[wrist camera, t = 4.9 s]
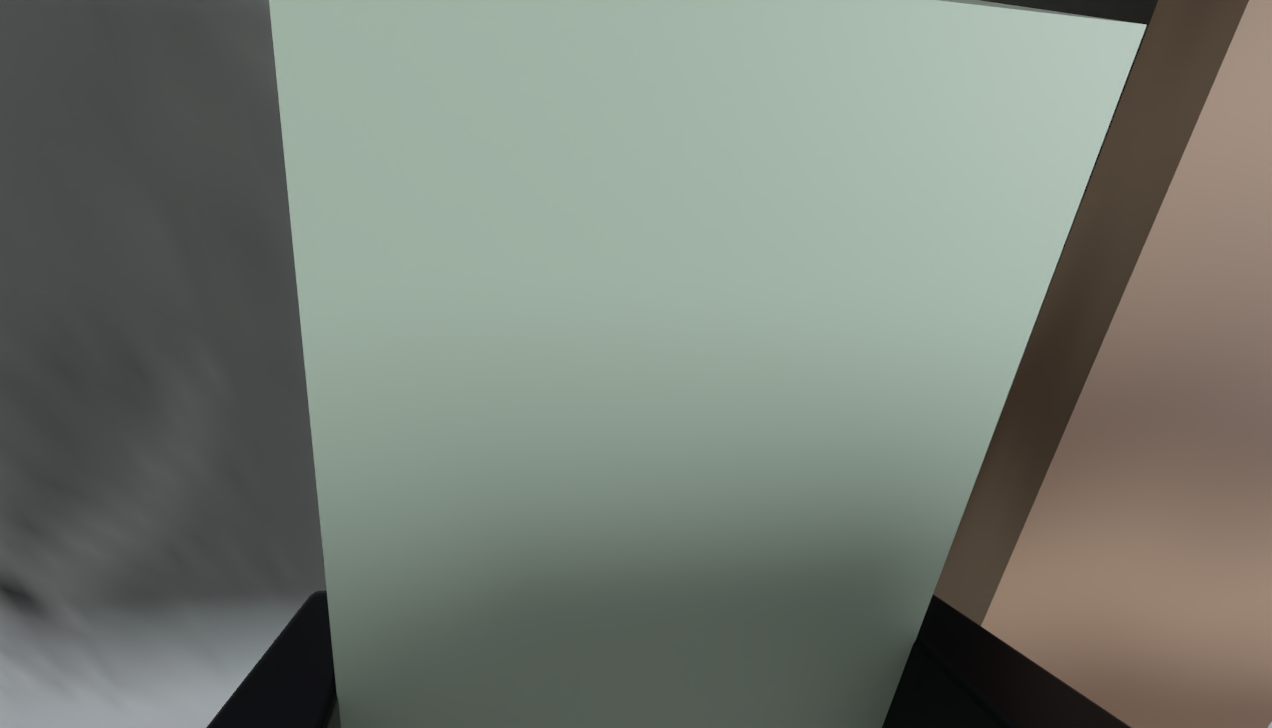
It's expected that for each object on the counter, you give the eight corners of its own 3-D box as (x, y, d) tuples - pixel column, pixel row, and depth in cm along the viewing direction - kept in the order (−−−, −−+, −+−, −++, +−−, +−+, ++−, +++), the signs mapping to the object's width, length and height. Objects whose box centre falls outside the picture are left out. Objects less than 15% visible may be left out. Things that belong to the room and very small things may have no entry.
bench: (1072, 636, 21) (1215, 799, 17) (795, 663, 19) (884, 852, 15) (1478, -163, 13) (1932, -199, 9) (1057, -250, 11) (1395, -343, 7)
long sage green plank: (717, 819, 13) (776, 1010, 10) (389, 866, 11) (375, 1093, 9) (926, -7, 7) (1146, 25, 5) (330, -78, 6) (260, -81, 4)
